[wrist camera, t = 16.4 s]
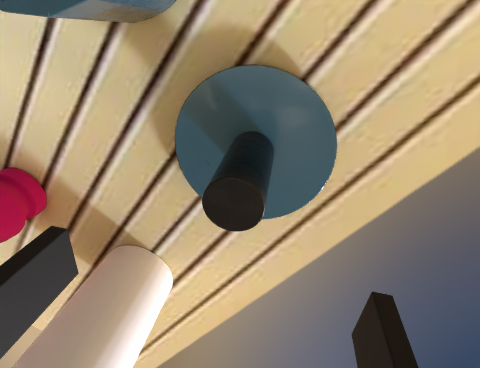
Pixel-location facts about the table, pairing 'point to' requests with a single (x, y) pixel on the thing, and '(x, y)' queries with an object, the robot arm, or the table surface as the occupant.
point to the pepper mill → (18, 201)
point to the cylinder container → (105, 315)
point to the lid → (254, 144)
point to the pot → (89, 9)
